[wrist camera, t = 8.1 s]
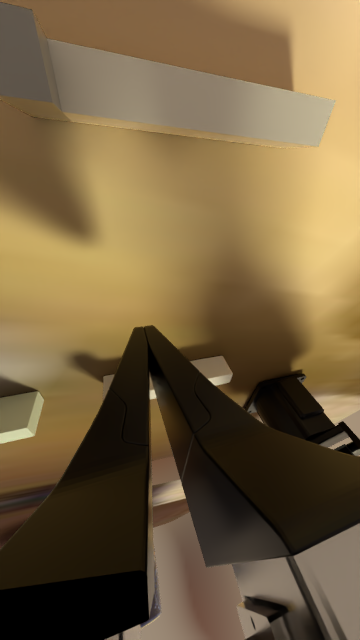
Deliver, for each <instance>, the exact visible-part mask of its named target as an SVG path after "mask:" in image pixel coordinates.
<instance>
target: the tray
mask: <svg viewBox="0 0 360 640" xmlns="http://www.w3.org/2000/svg"><path fill="white" fill-rule="evenodd" d="M43 402H44V399H43V398H42V396H41V395H40V393H39V392H38V391H36V392H30V393H24V394H19V395H13V396H7V397H2V398H0V444H1V443H6V442H10V441H14V440H19V439H23V438H28V437H32V436H35V432H36V428H37V425H38V421H39V417H40V413H41V410H42V406H43Z"/></svg>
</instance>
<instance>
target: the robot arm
mask: <svg viewBox="0 0 360 640" xmlns="http://www.w3.org/2000/svg"><path fill="white" fill-rule="evenodd" d="M149 372H150V375H149ZM150 377H151V381H152V384H153V387H154V391H155V394H156V398H157V401H158V404H159V408H160V411H161V415H162V418H163V421H164V425H165V428H166V432H167V435H168V438H169V442H170V445H171V449H172V452H173V455H174V459H175V462H176V466H177V469H178V472H179V476H180V479H181V482H182V486H183V490H184V493H185V496H186V500H187V503H188V507H189V510H190V513H191V517H192V520H193V524H194V527H195V530H196V533H197V537H198V541H199V544H200V547H201V550H202V554H203V558H204V561H205V564H206V567H214V566H222V565H229V564H232V567H233V570H234V573H235V577H236V580H237V583H238V586H239V590H240V593H241V597H242V600H243V602H242V603H240V604H238V605H237V610H238V614H239V618H240V621H241V625H242V628H243V632H244V635H245V640H360V456H359V455H360V439H359V438H358V437H357V436H356V435H355V434H354V433H353V432H352V431H351V429H350V428H349V427H348V426H347V425H346V424H345V423H344V422H343V421H342V422H340V423H339V425H337V426H335V425H334V424H333V423H332V422H331V420H330V419H329V418H328V417H327V416H326V415H325V413H324V409H323V408H322V407H321V406H320V404H319V403H318V402H317V401H316V400H315V399H314V397H313V396H312V395H311V394H310V393H309V392H308V390H307V389H306V388H305V387H304V386H303V385H302V382H303V381H304V380H305V378H306V376H305V375H304V374H298V375H293V376H289V377H284V378H280V379H275V380H271V381H266V382H262V383H260V384H259V385H258V386H257V388H256V390H255V392H254V394H253V396H252V397H251V399H250V401H249V403H248V405H247V407H246V409H245V410H244V409H243V408H242V407H241V406H239V405H238V404H237V403H236V402H234V401H233V400H232V399H231V398H229V397H228V396H227V395H226V394H224V393H223V392H222V391H221V390H219V389H218V388H217V387H216V386H215V385H214V384H213V383H212V382H211V381H209V380H208V379H207V378H206V377H205V376H204V375H203V374H202V373H201V372H200V371H199V370H198V369H197V368H196V367H195V366H194V365H193V364H192V363H191V362H190V361H189V360H188V359H187V358H186V357H185V356H184V355H183V354H182V353H181V352H180V351H179V350H178V349H177V348H176V347H175V346H174V345H173V344H172V343H171V342H170V341H169V340H168V339H167V338H166V337H165V336H164V335H163V334H162V333H161V332H160V331H159V330H158V329H156V328H155V327H154V326H153V325H151V326H145V327H135V328H134V329H133V332H132V334H131V336H130V339H129V341H128V344H127V346H126V348H125V351H124V353H123V356H122V358H121V360H120V363H119V365H118V368H117V370H116V372H115V375H114V377H113V380H112V382H111V384H110V387H109V390H108V391H107V394H106V396H105V398H104V401H103V403H102V405H101V407H100V409H99V412H98V414H97V415H96V417H95V419H94V421H93V423H92V425H91V427H90V429H89V430H88V432H87V434H86V436H85V437H84V439H83V441H82V443H81V444H80V446H79V448H78V450H77V451H76V453H75V455H74V457H73V458H72V460H71V462H70V464H69V466H68V467H67V469H66V471H65V472H64V474H63V476H62V477H61V479H60V480H59V482H58V483H57V485H56V486H55V488H54V489H53V491H52V492H51V493H50V494H49V496H48V497H47V498H46V499H45V500H44V501H43V503H42V504H41V505H40V506H39V507H38V508H37V509H36V510H35V511H34V513H33V514H32V515H31V516H30V517H29V518H28V519H27V520H26V521H25V522H24V524H23V525H22V526H21V527H20V528H19V529H18V530H17V531H16V532H15V533H14V535H13V536H12V537H11V538H10V539H9V540H8V541H7V542H6V543H5V545H4V546H3V547H2V548H1V549H0V640H141V627H140V624H142V623H144V622H146V621H148V620H149V616H150V611H151V606H152V601H153V596H154V591H155V589H154V550H153V505H152V463H151V462H152V460H151V415H150ZM254 412H257V413H258V415H259V416H260V418H261V420H262V421H263V423H264V424H263V423H262V422H260V421H259V420H257V419H256V418H255V417H253V416H252V415H251V414H250V413H254ZM348 437H350V438H351V440H352V441H353V442H351V443H349V444H347V445H345V444H344V445H342V446H340V447H338V448H336V449H334V450H333V449H330V448H328V447H330V446H332V445H334V444H336V443H338V442H340V441H342V440H344V439H346V438H348Z"/></svg>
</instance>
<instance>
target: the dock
mask: <svg viewBox="0 0 360 640" xmlns="http://www.w3.org/2000/svg"><path fill="white" fill-rule="evenodd" d="M0 100H2V101H4V102H5V103H7V104H9V105H11V106H13V107H15V108H17V109H19V110H20V111H22V112H24V113H26V114H28V115H30V116H32V117H38V118H46V119H54V120H61V121H69V122H77V123H85V124H93V125H101V126H109V127H117V128H125V129H133V130H141V131H149V132H157V133H165V134H173V135H181V136H189V137H197V138H205V139H213V140H221V141H229V142H237V143H245V144H253V145H261V146H269V147H277V148H302V147H319V144H320V141H321V139H322V136H323V133H324V131H325V128H326V125H327V123H328V120H329V117H330V115H331V112H332V109H333V107H334V104H335V101H336V100H331V99H326V98H322V97H317V96H312V95H308V94H303V93H299V92H294V91H289V90H285V89H280V88H275V87H271V86H266V85H261V84H257V83H252V82H247V81H243V80H238V79H234V78H229V77H224V76H220V75H215V74H210V73H206V72H201V71H196V70H192V69H187V68H182V67H178V66H173V65H168V64H164V63H159V62H155V61H150V60H145V59H141V58H136V57H131V56H127V55H122V54H117V53H113V52H108V51H103V50H99V49H94V48H90V47H85V46H80V45H76V44H71V43H66V42H62V41H57V40H52V39H48V38H46V36H45V34H44V32H43V30H42V28H41V26H40V24H39V22H38V20H37V18H36V16H35V14H34V13H33V11H32V10H31V9H27V8H23V7H19V6H15V5H10V4H6V3H2V2H0ZM190 362H191V363H192V364H193V365H194V366H195V367H196V368H197V369H198V370H199V371H200V372H201V373H202V374H203V375H204V376H205V377H206V378H207V379H208V380H209V381H211V382H212V383H213V384H214V385H215V386H216V385H220V384H225V383H230V380H231V378H232V375H233V373H232V371H231V370H230V368H229V366H228V364H227V363H226V361H225V359H224V357H223V356H217V357H211V358H205V359H200V360H194V361H190ZM114 375H115V374H113V375H107V376H103V401H104V398H105V396H106V394H107V391H108V390H109V387H110V384H111V382H112V380H113V377H114ZM149 375H150V372H149ZM154 398H156V394H155V391H154V387H153V384H152V381H151V377H150V399H154Z"/></svg>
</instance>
